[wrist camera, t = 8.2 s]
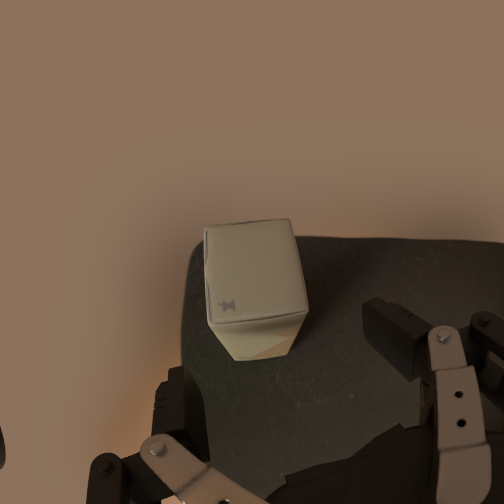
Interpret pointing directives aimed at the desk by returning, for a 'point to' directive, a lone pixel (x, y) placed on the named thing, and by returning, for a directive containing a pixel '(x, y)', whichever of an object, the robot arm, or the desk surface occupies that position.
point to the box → (254, 287)
